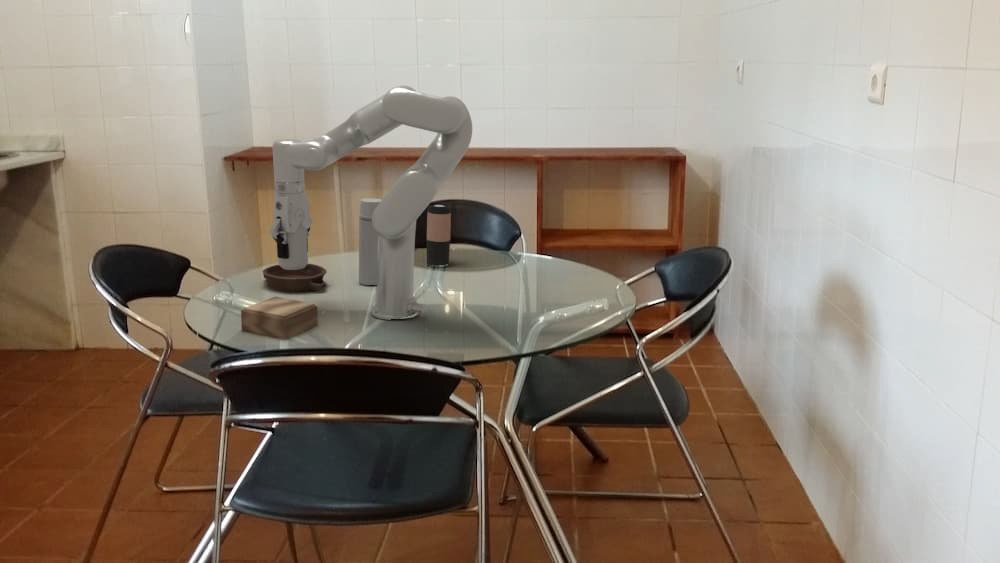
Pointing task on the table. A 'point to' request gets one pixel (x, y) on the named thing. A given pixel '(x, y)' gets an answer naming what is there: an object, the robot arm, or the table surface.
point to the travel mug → (438, 233)
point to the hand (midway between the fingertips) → (293, 254)
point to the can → (296, 250)
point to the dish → (296, 278)
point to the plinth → (279, 317)
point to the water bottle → (368, 242)
